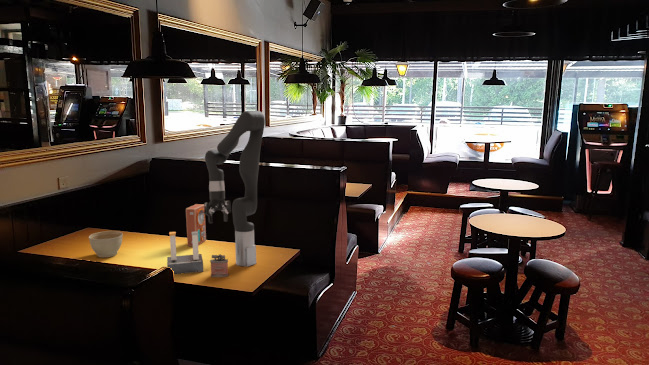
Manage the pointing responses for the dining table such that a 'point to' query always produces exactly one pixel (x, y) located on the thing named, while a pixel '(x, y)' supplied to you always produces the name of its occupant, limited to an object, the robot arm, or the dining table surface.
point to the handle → (195, 245)
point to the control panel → (196, 223)
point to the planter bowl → (106, 243)
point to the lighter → (219, 266)
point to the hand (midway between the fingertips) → (218, 222)
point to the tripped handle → (173, 245)
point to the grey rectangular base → (185, 264)
